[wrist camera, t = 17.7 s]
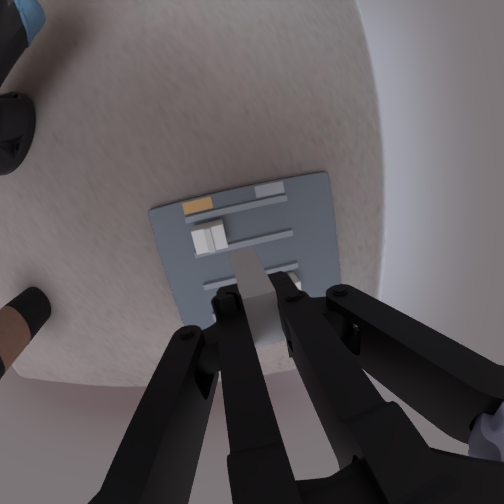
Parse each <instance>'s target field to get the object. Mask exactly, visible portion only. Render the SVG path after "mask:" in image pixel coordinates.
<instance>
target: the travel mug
mask: <svg viewBox="0 0 504 504" xmlns="http://www.w3.org/2000/svg"><path fill="white" fill-rule="evenodd" d="M50 314H51V306H50V303H49V301H48V299H47V297H46V296H45V294H44V293H43V292H42V291H41V290H39V289H38V288H35V287H30V288H28V289H26V290H25V291H23V292H22V293H21V294H19V295H18V296H17V297H15V298H14V299H13V300H11V301H10V302H9V303H7V304H6V305H5V306H4V307H2V308H1V309H0V379H1V378H2V376H3V375H4V374H5V372H6V371H7V370H8V368H9V367H10V366H11V365H12V363H13V362H14V361H15V359H16V358H17V357H18V356H19V355H20V353H21V352H22V351H23V350H24V348H25V347H26V346H27V345H28V344H29V342H30V341H31V340H32V339H33V337H34V336H35V335H36V333H37V332H38V331H39V330H40V328H41V327H42V326H43V325H44V323H45V322H46V321H47V320H48V318H49V317H50Z"/></svg>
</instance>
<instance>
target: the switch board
mask: <svg viewBox="0 0 504 504" xmlns="http://www.w3.org/2000/svg"><path fill="white" fill-rule="evenodd" d="M148 214H149V218H150V222H151V226H152V229H153V233H154V236H155V240H156V243H157V247H158V250H159V253H160V256H161V260H162V263H163V266H164V269H165V272H166V275H167V278H168V281H169V284H170V287H171V290H172V293H173V296H174V299H175V302H176V305H177V308H178V310H179V313H180V316H181V319H182V321H183V324H184V326H188V325H197V326H199V327H200V328H201V329H202V330H203V329H206V328H208V327H210V326H211V325H213V324H214V323H215V322H216V317H215V314H214V311H213V308H212V305H211V300H212V298H213V297H214V296H216V292H217V291H218V289H219V288H220V287H223V286H227V285H231V284H235V283H237V281H236V277H235V273H234V269H233V265H232V261H231V257H230V253H229V252H230V251H234V250H238V249H242V248H246V247H250V246H252V247H253V249H254V251H255V253H256V255H257V257H258V259H259V260H260V262H261V264H262V266H263V268H264V270H265V272H266V274H271V273H275V272H278V271H283V272H285V273H288V272H292V271H293V273H294V274H295V275H296V277H297V278H298V279H299V281H300V282H301V290H302V291H305V292H306V293H307V294H308V295H309V296H310V297H324V296H326V290H327V289H328V288H330V287H331V286H334V285H337V284H338V285H339V284H341V279H340V266H339V254H338V244H337V234H336V225H335V217H334V209H333V202H332V194H331V188H330V181H329V175H328V172H317V173H311V174H305V175H299V176H293V177H288V178H282V179H277V180H272V181H267V182H261V183H257V184H252V185H247V186H242V187H238V188H233V189H228V190H224V191H220V192H215V193H211V194H207V195H203V196H199V197H194V198H190V199H187V200H183V201H179V202H175V203H171V204H167V205H164V206H160V207H156V208H153V209H150V210H149V211H148ZM218 219H222V221H223V226H224V230H225V234H226V239H227V244H228V248H224V249H220V250H216V252H213V253H209V252H207V253H203V254H199V255H197V253H196V249H195V246H194V242H193V238H192V234H191V230H192V228H193V225H197V224H201V223H206V222H210V221H214V220H218Z"/></svg>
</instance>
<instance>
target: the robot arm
mask: <svg viewBox="0 0 504 504" xmlns="http://www.w3.org/2000/svg"><path fill="white" fill-rule="evenodd" d="M44 23H45V13H44V10H43V8H42V7H41V5H40V4H39V3H38V1H37V0H0V87H1V85H2V83H3V82H4V80H5V78H6V77H7V75H8V74H9V72H10V71H11V69H12V68H13V66H14V65H15V63H16V62H17V60H18V59H19V57H20V56H21V55H22V53H23V52H24V51H25V49H26V48H28V47H29V46H30V44H31V41H32V40H33V39H34V37H35V36H36V35H37V33H38V32H39V31H40V30H41V28H42V27H43V25H44ZM34 129H35V110H34V106H33V103H32V101H31V99H30V98H29V97H28V96H26V95H25V94H22V93H18V92H8V93H4V94H0V175H6V174H9V173H11V172H12V171H14V170H15V169H16V168H17V167H18V166H19V165H20V164H21V162H22V161H23V159H24V158H25V156H26V154H27V152H28V150H29V147H30V145H31V142H32V138H33V134H34ZM229 253H230V257H231V261H232V265H233V269H234V273H235V277H236V281H237V283H235V284H231V285H227V286H223V287H220V288H219V289H218V291H217V292H216V296H214V297H213V298H212V300H211V305H212V308H213V311H214V314H215V317H216V322H215V323H214V324H213V325H211V326H210V327H208V328H206V329H203V330H202V329H201V328H200V327H199V326H197V325H188V326H184V327H181V328H180V329H178V330H177V331H176V332H175V333H174V334H173V336H172V338H171V340H170V342H169V344H168V346H167V348H166V350H165V352H164V354H163V356H162V358H161V360H160V362H159V364H158V366H157V368H156V370H155V372H154V374H153V376H152V378H151V380H150V382H149V384H148V386H147V389H146V390H145V392H144V394H143V397H142V399H141V401H140V403H139V405H138V407H137V409H136V411H135V414H134V415H133V418H132V420H131V422H130V424H129V426H128V428H127V430H126V433H125V435H124V437H123V439H122V441H121V444H120V446H119V448H118V450H117V452H116V455H115V457H114V459H113V461H112V464H111V466H110V468H109V471H108V473H107V475H106V478H105V480H104V482H103V485H102V487H101V490H100V491H99V492H98V493H97V495H95V496H94V497H93V498H92V500H91V501H90V502H89V503H88V504H188V502H189V498H190V493H191V489H192V485H193V481H194V477H195V472H196V468H197V464H198V460H199V456H200V452H201V447H202V443H203V439H204V435H205V431H206V427H207V423H208V418H209V414H210V410H211V406H212V402H213V397H214V394H215V389H216V385H217V381H218V377H219V372H218V371H220V370H221V379H222V389H223V397H224V406H225V414H226V423H227V430H228V438H229V445H230V454H229V455H228V456H227V467H228V475H229V482H230V488H231V494H232V501H233V504H504V366H502V365H497V364H496V363H494V362H492V361H490V360H488V359H487V358H485V357H483V356H481V355H479V354H477V353H476V352H474V351H472V350H470V349H469V348H467V347H465V346H463V345H461V344H459V343H458V342H456V341H454V340H452V339H450V338H448V337H446V336H445V335H443V334H441V333H439V332H437V331H435V330H434V329H432V328H430V327H428V326H426V325H424V324H422V323H421V322H419V321H417V320H415V319H413V318H411V317H409V316H407V315H406V314H403V313H402V312H400V311H398V310H396V309H394V308H392V307H390V306H389V305H387V304H385V303H383V302H381V301H379V300H377V299H375V298H373V297H371V296H369V295H368V294H366V293H364V292H362V291H360V290H358V289H356V288H354V287H352V286H350V285H346V284H339V285H338V284H337V285H334V286H331V287H330V288H328V289H327V290H326V296H324V297H310V296H309V295H308V294H307V293H306V292H305V291H302V290H299V289H298V288H297V286H296V285H295V283H294V282H293V281H292V279H291V278H290V276H289V275H288V274H287V273H285V272H283V271H278V272H275V273H271V274H266V272H265V270H264V268H263V266H262V264H261V262H260V260H259V259H258V257H257V255H256V253H255V251H254V249H253V247H252V246H250V247H246V248H242V249H238V250H234V251H230V252H229ZM356 326H357V327H356ZM284 334H285V337H286V341H287V347H288V352H289V358H290V357H292V358H293V360H294V362H295V365H296V367H297V369H298V371H299V374H300V376H301V378H302V380H303V383H304V385H305V387H306V390H307V392H308V394H309V397H310V399H311V401H312V403H313V406H314V408H315V410H316V412H317V415H318V417H319V419H320V421H321V424H322V426H323V428H324V431H325V433H326V435H327V437H328V440H329V442H330V444H331V446H332V449H333V451H334V453H335V455H336V457H337V460H338V464H339V468H340V471H338V472H337V473H335V474H333V475H332V476H330V477H326V478H319V479H309V480H299V481H298V480H297V481H295V478H294V475H293V472H292V469H291V466H290V463H289V459H288V456H287V453H286V450H285V447H284V443H283V440H282V437H281V434H280V431H279V427H278V424H277V421H276V417H275V414H274V411H273V407H272V404H271V401H270V397H269V394H268V391H267V387H266V383H265V380H264V376H263V373H262V370H261V366H260V362H259V359H258V355H257V352H256V348H257V347H261V346H264V345H268V344H272V343H275V342H279V341H282V340H285V337H284ZM362 369H364V370H365V371H366V372H367V373H368V374H370V375H371V376H372V377H373V378H375V379H376V380H377V381H378V382H380V383H381V384H382V385H383V386H385V387H386V388H387V389H389V390H390V391H391V392H393V393H394V394H395V395H396V396H397V397H399V398H400V399H402V401H404V402H405V403H406V404H408V405H409V406H410V407H411V408H413V409H414V410H415V411H417V412H418V413H419V414H421V415H422V416H424V418H426V419H427V420H428V421H430V422H431V423H432V424H434V425H435V426H436V427H438V428H439V429H440V430H442V431H443V432H444V433H446V434H447V435H449V436H451V437H452V438H454V439H456V440H459V441H461V442H463V443H466V444H469V451H468V454H469V456H465V455H460V454H456V453H451V452H446V451H442V450H438V449H435V448H431V447H429V446H428V445H427V443H426V442H425V440H424V439H423V438H422V436H421V435H420V433H419V432H418V430H417V429H416V428H415V426H414V425H413V423H412V422H411V421H410V419H409V418H408V417H407V415H406V414H405V412H404V411H403V410H402V408H401V407H400V406H399V405H398V404H397V403H396V402H394V401H391V402H386V401H385V400H384V399H383V398H382V397H381V395H380V394H379V392H378V391H377V390H376V388H375V387H374V385H373V384H372V382H371V381H370V380H369V378H368V377H367V375H366V374H365V372H364V371H363V370H362Z"/></svg>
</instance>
